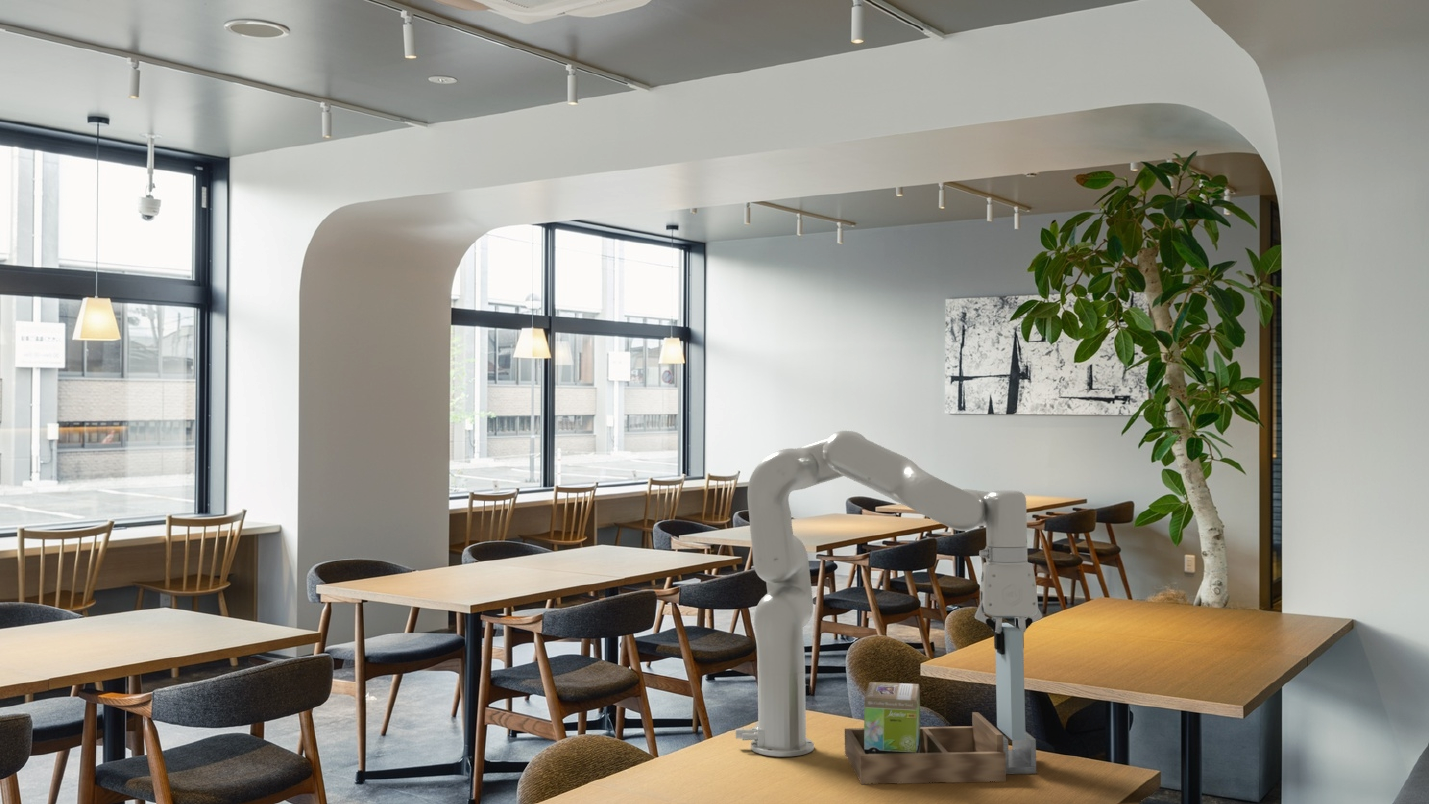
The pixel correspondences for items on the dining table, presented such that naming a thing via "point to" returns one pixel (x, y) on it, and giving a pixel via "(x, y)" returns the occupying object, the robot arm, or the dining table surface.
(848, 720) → the dining table surface
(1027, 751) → the stand
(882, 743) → the tea box
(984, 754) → the divided tray
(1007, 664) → the rectangular block
